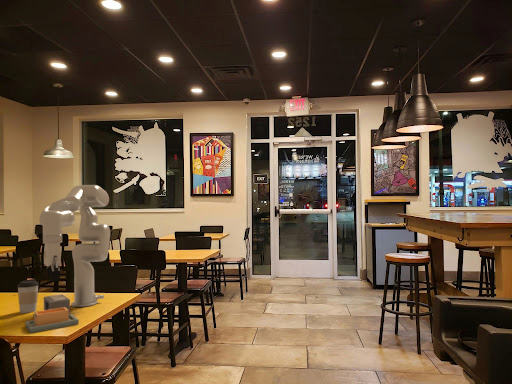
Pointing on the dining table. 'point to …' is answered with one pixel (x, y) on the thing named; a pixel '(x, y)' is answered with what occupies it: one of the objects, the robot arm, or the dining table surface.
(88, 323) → the dining table surface
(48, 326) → the tray
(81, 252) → the robot arm
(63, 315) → the orange drawer
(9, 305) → the dining table surface
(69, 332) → the dining table surface
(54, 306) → the bay housing
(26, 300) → the coffee cup
